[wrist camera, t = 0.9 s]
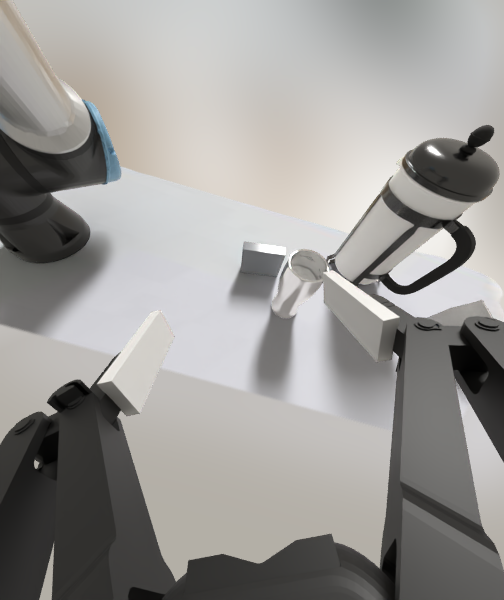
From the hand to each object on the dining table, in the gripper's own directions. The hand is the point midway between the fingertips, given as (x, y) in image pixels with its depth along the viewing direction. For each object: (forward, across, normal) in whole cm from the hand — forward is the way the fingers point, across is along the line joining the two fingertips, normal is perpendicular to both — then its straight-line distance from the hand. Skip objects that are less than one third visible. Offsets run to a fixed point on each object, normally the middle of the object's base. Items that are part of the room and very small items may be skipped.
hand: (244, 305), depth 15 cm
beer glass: (+23, +7, -16) cm, 29 cm away
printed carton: (+18, +41, -29) cm, 53 cm away
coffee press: (+32, +28, -16) cm, 45 cm away
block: (+31, +3, -9) cm, 32 cm away
